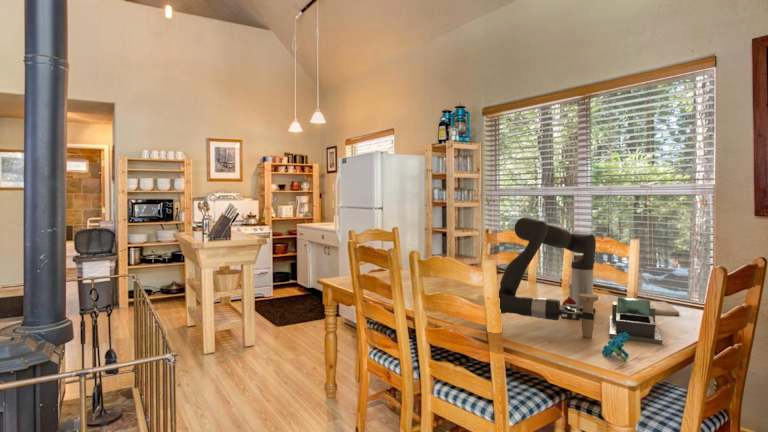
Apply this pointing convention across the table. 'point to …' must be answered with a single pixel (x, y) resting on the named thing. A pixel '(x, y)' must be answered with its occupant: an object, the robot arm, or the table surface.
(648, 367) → the table surface
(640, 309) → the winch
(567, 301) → the onion
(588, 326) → the handle
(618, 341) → the teal lobed piece
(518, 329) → the table surface
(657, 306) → the washcloth
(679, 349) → the table surface
